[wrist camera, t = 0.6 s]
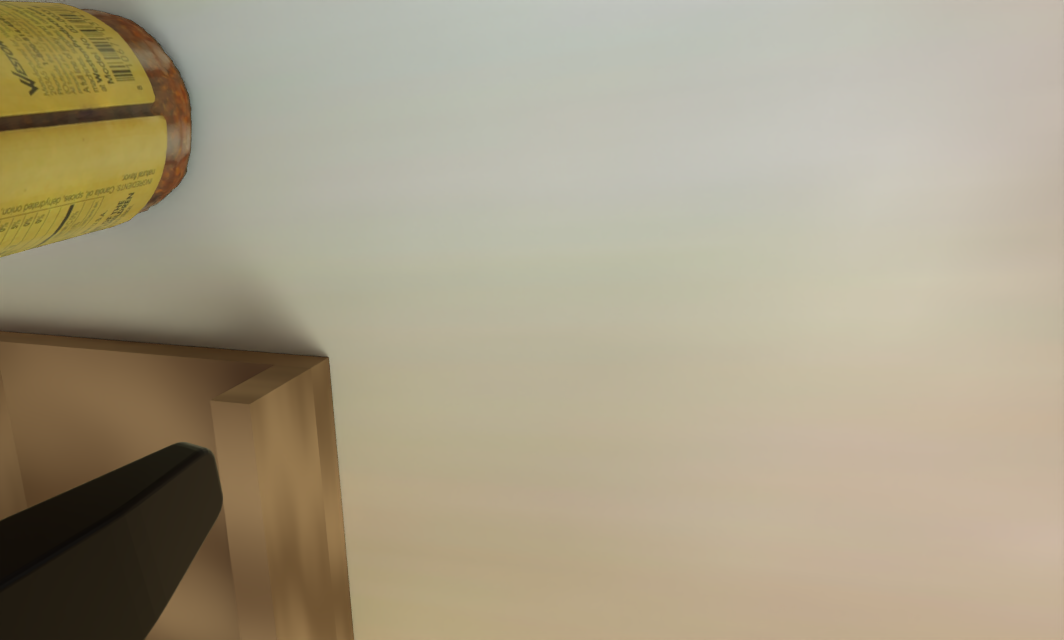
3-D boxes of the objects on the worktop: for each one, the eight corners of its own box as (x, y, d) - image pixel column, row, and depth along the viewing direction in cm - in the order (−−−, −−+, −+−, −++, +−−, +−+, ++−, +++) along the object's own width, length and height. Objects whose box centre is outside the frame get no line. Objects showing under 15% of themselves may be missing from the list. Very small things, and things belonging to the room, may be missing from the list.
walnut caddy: (361, 721, 30) (297, 813, 26) (56, 656, 34) (-37, 728, 30) (328, 357, 26) (249, 404, 23) (-8, 330, 30) (-122, 366, 26)
